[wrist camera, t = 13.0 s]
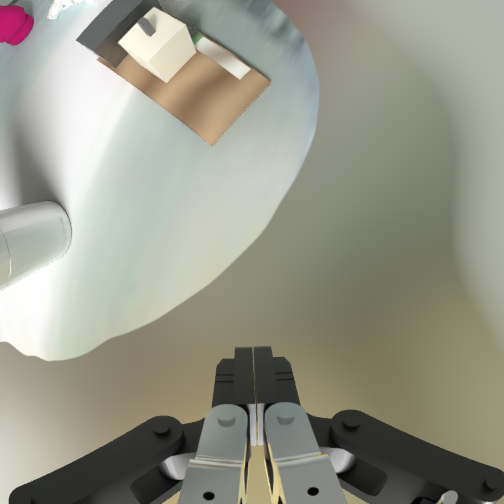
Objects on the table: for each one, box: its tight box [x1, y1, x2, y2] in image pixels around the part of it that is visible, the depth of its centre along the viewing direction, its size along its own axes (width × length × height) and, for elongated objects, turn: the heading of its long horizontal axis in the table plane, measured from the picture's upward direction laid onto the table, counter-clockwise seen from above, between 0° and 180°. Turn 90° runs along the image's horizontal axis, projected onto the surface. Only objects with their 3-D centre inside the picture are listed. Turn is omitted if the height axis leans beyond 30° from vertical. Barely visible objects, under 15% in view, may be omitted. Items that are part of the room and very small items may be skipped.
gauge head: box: [118, 7, 199, 83], centre depth 25 cm, size 5×8×11 cm, turn 139°
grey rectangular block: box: [76, 0, 163, 68], centre depth 26 cm, size 4×10×7 cm, turn 139°
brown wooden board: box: [97, 11, 271, 146], centre depth 31 cm, size 22×11×1 cm, turn 49°
